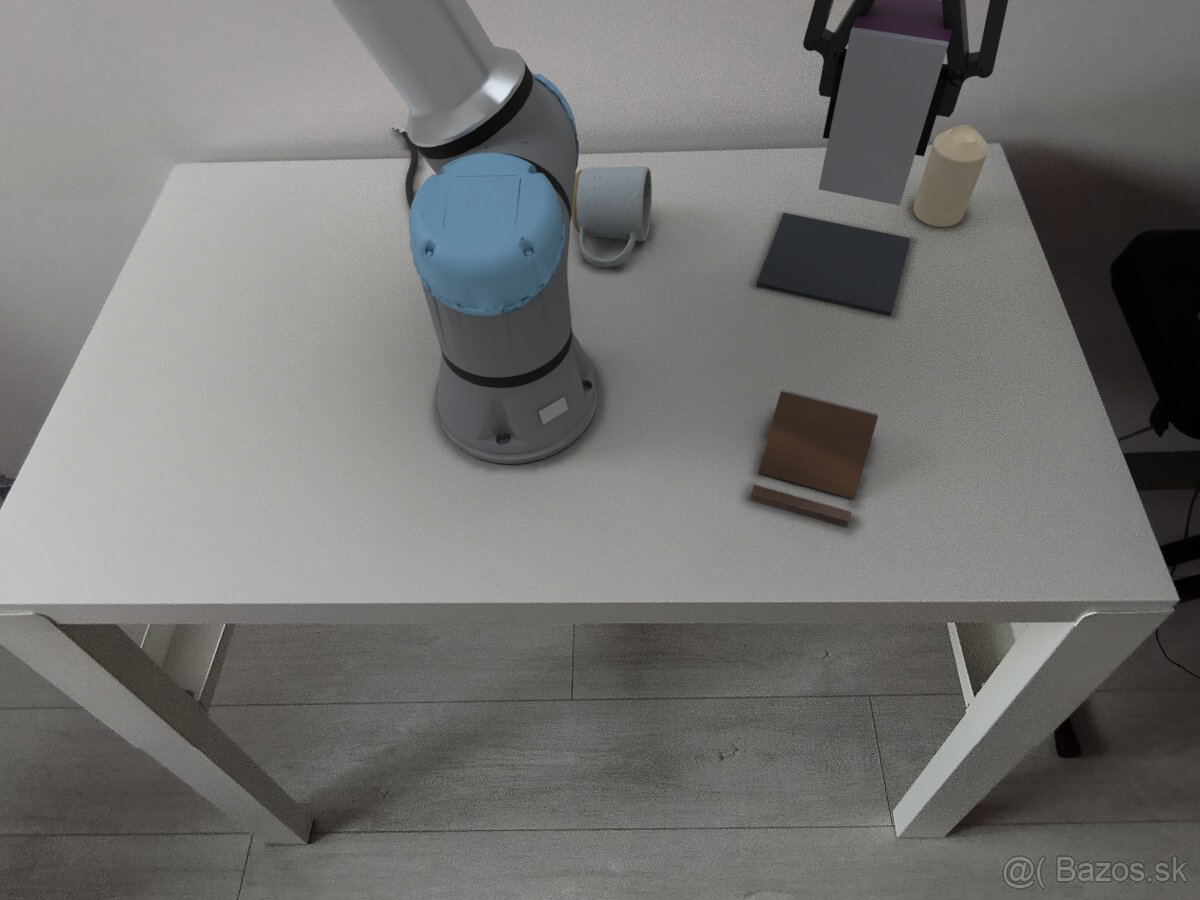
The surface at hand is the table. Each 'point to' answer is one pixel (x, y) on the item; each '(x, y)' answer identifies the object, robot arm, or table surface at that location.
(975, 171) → the candle
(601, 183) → the ceramic mug
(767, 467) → the phone stand
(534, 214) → the robot arm
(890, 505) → the table surface
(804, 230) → the mat
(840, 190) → the grey box
